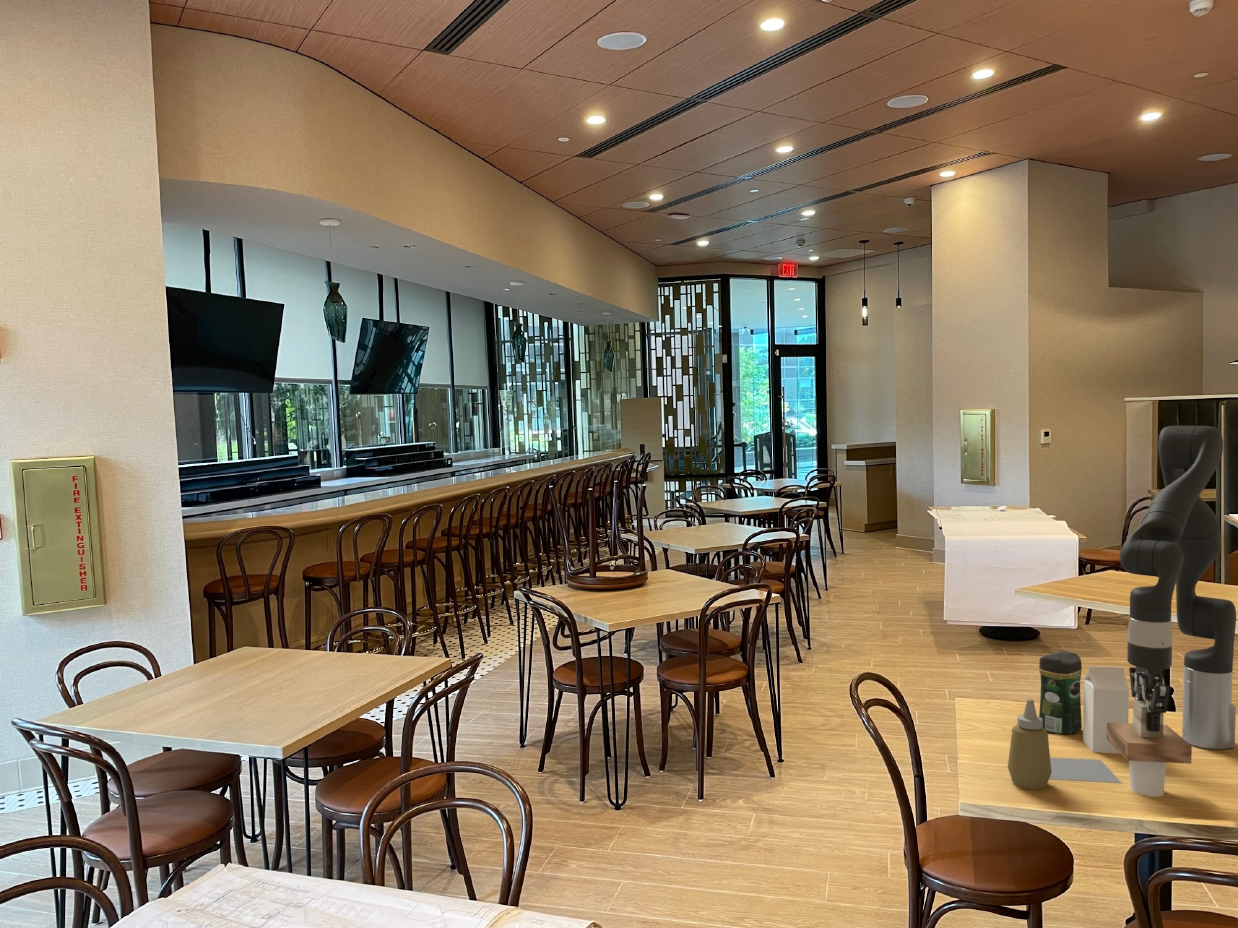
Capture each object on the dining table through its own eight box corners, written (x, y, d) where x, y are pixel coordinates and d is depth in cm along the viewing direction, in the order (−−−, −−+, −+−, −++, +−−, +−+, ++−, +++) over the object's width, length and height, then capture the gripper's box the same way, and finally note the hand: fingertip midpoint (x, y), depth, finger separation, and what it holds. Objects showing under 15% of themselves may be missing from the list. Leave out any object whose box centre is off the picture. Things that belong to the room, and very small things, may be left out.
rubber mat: (1100, 763, 192) (1100, 759, 192) (1121, 786, 180) (1121, 782, 180) (1031, 759, 195) (1031, 756, 195) (1047, 782, 183) (1047, 778, 183)
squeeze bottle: (1001, 779, 185) (1001, 693, 184) (1040, 778, 185) (1041, 693, 184) (1017, 795, 177) (1018, 706, 176) (1058, 795, 177) (1059, 706, 176)
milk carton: (1127, 757, 195) (1129, 672, 194) (1092, 755, 197) (1094, 670, 195) (1116, 745, 202) (1118, 662, 201) (1082, 743, 204) (1084, 661, 202)
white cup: (1152, 786, 180) (1153, 738, 180) (1174, 801, 173) (1175, 750, 173) (1120, 787, 180) (1121, 738, 179) (1140, 801, 173) (1141, 751, 173)
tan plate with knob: (1166, 741, 181) (1167, 695, 180) (1191, 763, 170) (1192, 714, 169) (1106, 739, 183) (1107, 693, 182) (1127, 760, 172) (1128, 712, 171)
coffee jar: (1054, 721, 218) (1055, 646, 217) (1086, 730, 212) (1088, 653, 211) (1032, 729, 213) (1033, 652, 212) (1064, 739, 206) (1065, 660, 205)
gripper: (1187, 651, 167) (1185, 741, 168) (1155, 632, 181) (1153, 715, 182) (1143, 650, 169) (1141, 739, 170) (1115, 631, 183) (1114, 713, 184)
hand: (1148, 726), depth 176 cm, fingers closed on tan plate with knob, 4 cm apart
